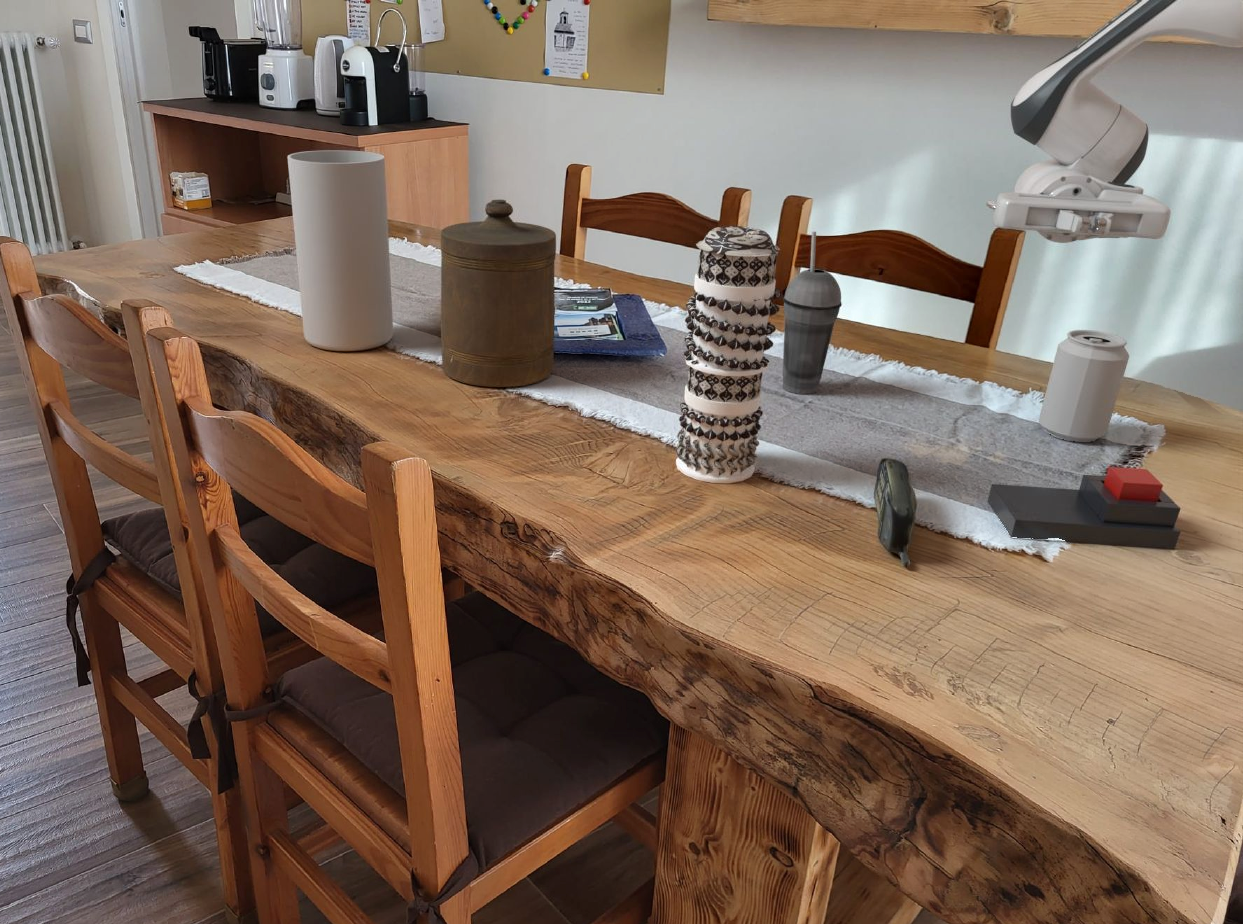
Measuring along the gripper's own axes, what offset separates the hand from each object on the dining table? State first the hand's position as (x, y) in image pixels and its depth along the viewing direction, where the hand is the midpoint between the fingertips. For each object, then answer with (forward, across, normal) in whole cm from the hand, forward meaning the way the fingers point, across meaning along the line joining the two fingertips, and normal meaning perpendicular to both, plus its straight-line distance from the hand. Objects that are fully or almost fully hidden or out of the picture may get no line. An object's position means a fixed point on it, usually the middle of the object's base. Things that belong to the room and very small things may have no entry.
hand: (1093, 227), depth 120 cm
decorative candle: (+34, -41, +22) cm, 58 cm away
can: (+12, 0, +22) cm, 25 cm away
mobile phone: (+44, -24, +22) cm, 55 cm away
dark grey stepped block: (+38, -5, +22) cm, 44 cm away
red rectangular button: (+37, -1, +18) cm, 42 cm away
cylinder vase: (+3, -96, +22) cm, 98 cm away
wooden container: (+10, -72, +22) cm, 76 cm away
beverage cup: (+6, -32, +22) cm, 39 cm away
